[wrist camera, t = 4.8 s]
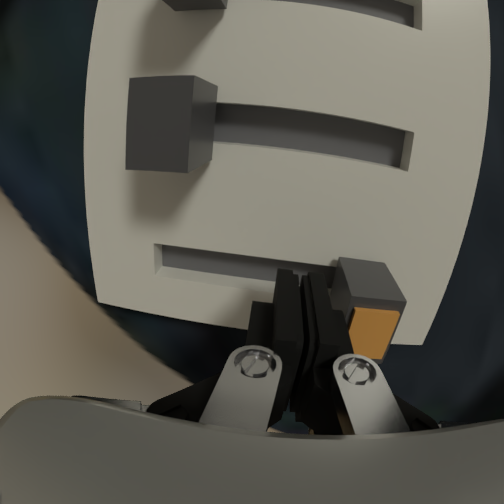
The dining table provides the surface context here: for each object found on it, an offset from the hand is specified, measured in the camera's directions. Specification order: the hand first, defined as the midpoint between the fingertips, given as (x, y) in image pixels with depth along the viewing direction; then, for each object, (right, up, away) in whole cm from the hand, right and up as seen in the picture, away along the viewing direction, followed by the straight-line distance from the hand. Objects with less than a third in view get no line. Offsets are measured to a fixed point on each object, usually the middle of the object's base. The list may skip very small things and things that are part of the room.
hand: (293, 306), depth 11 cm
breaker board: (0, +7, +1) cm, 7 cm away
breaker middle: (-4, +7, 0) cm, 8 cm away
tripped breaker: (+3, +1, +2) cm, 4 cm away
